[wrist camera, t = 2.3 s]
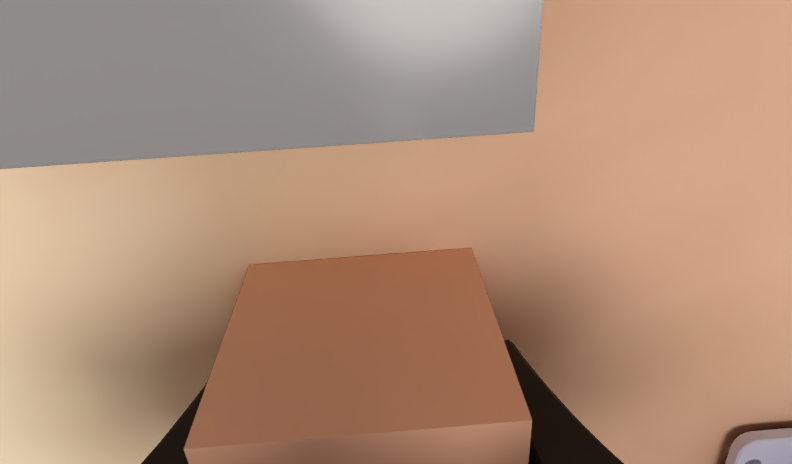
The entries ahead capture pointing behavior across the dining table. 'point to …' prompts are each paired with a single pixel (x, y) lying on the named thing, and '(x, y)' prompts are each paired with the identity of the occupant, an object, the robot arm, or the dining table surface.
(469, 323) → the terracotta cube
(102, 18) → the slate plinth
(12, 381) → the dining table surface
